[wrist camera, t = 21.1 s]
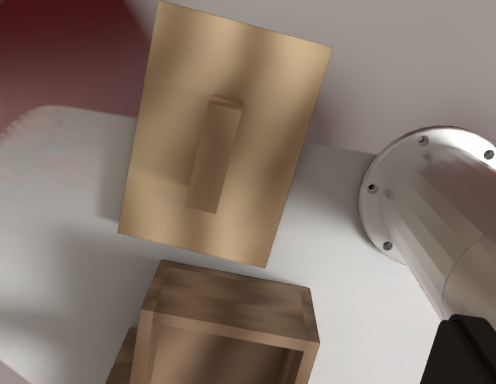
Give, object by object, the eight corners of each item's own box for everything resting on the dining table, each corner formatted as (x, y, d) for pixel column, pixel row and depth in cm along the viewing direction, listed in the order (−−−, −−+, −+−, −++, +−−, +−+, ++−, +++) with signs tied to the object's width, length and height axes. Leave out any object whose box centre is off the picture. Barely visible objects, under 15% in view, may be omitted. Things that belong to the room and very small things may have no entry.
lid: (328, 46, 37) (341, 50, 31) (265, 256, 43) (265, 293, 38) (164, 1, 36) (146, -3, 30) (124, 222, 43) (102, 254, 37)
